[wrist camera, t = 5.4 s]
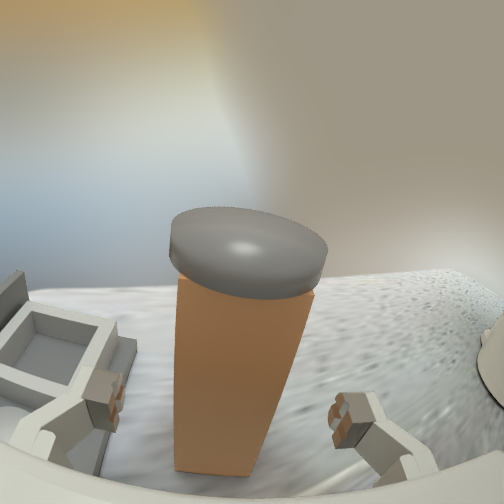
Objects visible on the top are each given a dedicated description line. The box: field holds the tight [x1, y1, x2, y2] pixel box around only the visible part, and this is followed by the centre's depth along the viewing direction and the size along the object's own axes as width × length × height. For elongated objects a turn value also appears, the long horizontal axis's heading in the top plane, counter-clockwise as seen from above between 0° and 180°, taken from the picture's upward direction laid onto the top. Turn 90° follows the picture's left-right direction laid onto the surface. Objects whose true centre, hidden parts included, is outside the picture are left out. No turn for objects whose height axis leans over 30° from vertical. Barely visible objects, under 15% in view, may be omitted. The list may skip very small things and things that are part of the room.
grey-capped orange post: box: [169, 207, 328, 477], centre depth 13 cm, size 5×5×13 cm
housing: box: [0, 270, 137, 477], centre depth 14 cm, size 10×14×5 cm
